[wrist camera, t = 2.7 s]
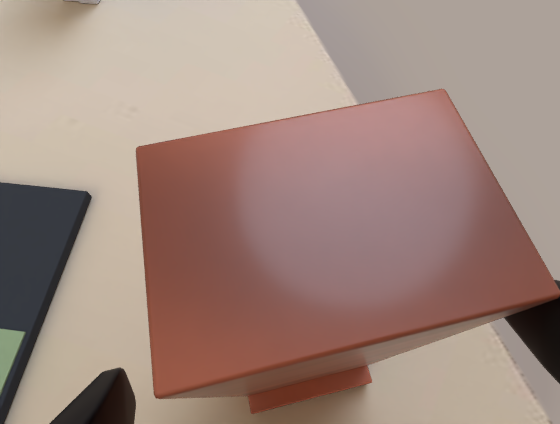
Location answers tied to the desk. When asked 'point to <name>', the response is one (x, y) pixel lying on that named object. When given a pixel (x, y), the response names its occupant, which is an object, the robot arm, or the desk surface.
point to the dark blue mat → (31, 268)
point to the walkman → (86, 1)
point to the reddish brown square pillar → (323, 249)
